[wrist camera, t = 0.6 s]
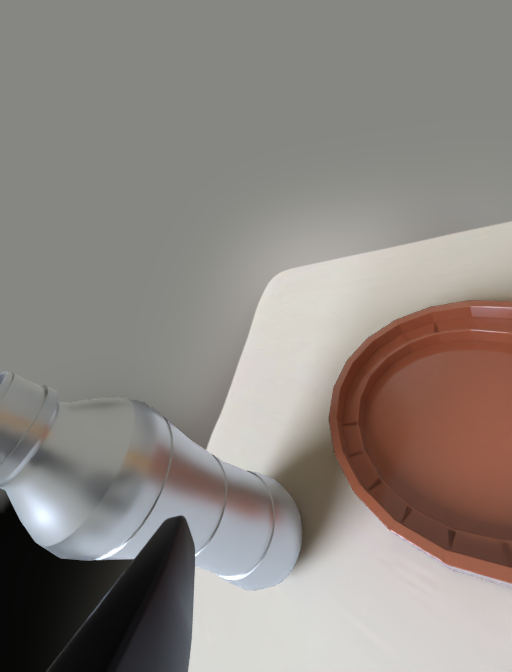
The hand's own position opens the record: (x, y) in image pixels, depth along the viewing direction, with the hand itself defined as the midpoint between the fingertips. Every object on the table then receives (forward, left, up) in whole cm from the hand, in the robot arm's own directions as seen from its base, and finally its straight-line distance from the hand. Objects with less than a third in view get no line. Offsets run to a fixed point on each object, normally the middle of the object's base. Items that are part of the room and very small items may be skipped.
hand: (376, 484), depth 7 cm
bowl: (+6, -5, -14) cm, 16 cm away
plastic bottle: (+6, +10, -15) cm, 19 cm away
